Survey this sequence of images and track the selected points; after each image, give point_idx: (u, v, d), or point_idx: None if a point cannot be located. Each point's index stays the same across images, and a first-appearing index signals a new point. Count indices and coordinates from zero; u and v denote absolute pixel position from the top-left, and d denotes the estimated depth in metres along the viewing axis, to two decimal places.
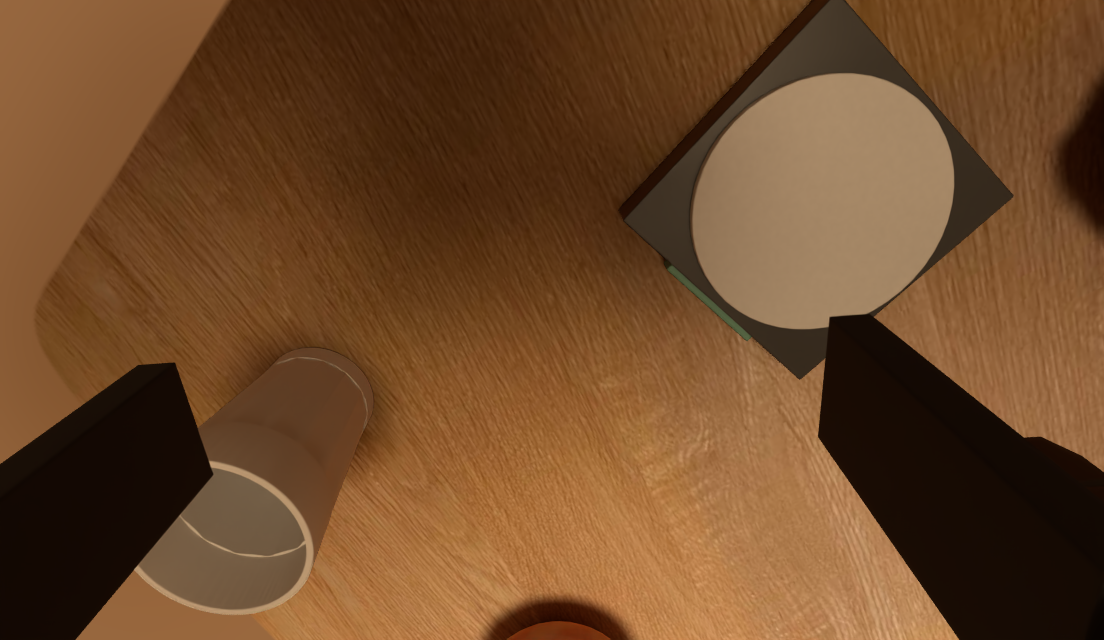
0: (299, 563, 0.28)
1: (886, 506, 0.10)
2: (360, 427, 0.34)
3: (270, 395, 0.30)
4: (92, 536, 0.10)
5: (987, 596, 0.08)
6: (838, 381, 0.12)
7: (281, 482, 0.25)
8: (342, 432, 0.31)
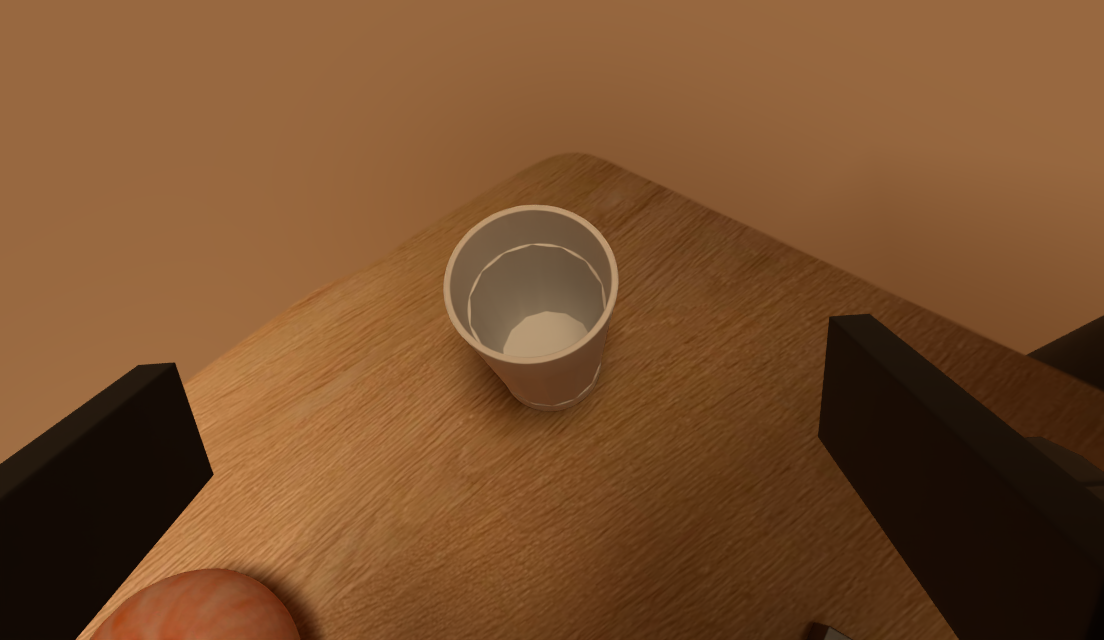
0: None
1: (886, 507, 0.10)
2: (552, 400, 0.35)
3: None
4: (92, 536, 0.10)
5: (987, 596, 0.08)
6: (837, 381, 0.12)
7: (600, 331, 0.28)
8: (574, 383, 0.33)
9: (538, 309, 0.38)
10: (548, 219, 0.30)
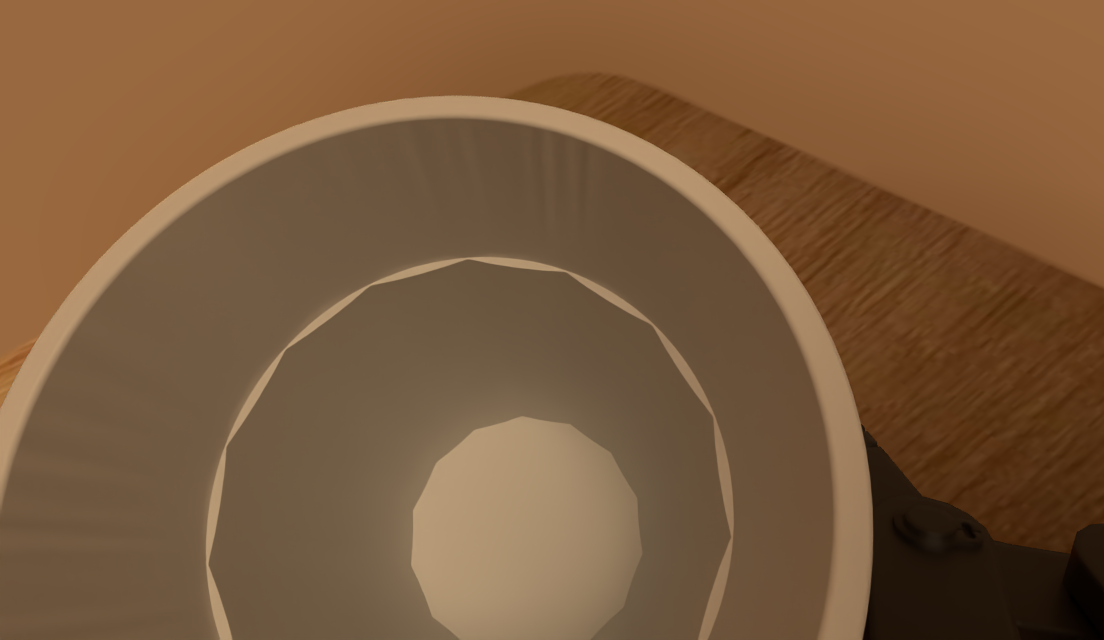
0: None
1: None
2: None
3: None
4: None
5: None
6: None
7: None
8: None
9: (502, 415, 0.16)
10: (518, 164, 0.07)
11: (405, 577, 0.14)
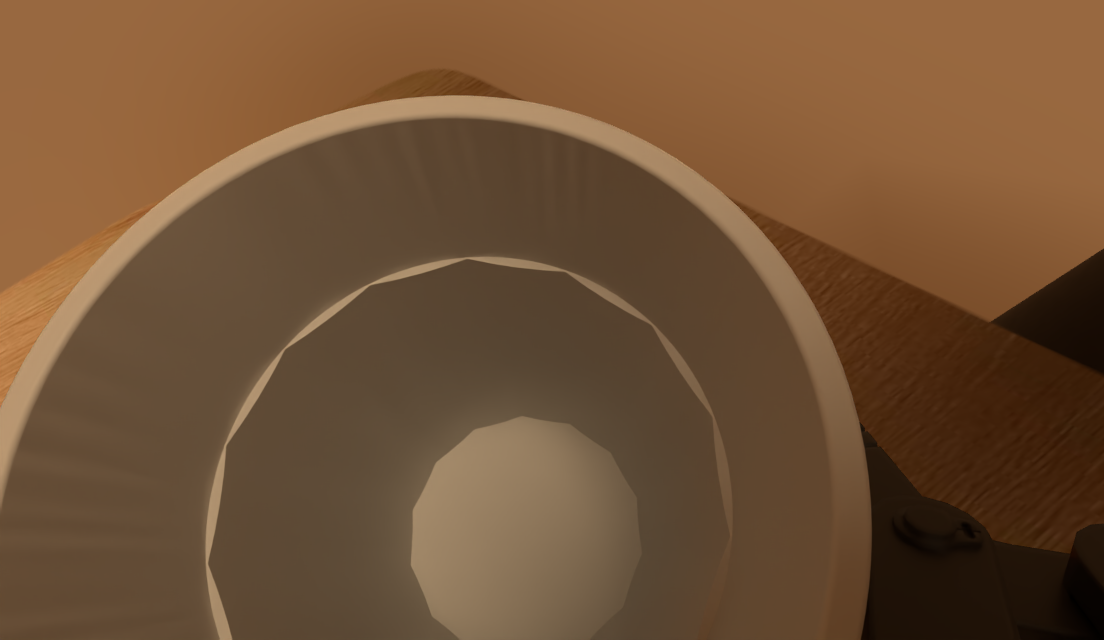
0: None
1: None
2: None
3: None
4: None
5: None
6: None
7: None
8: None
9: (502, 415, 0.16)
10: (518, 164, 0.07)
11: (405, 577, 0.14)
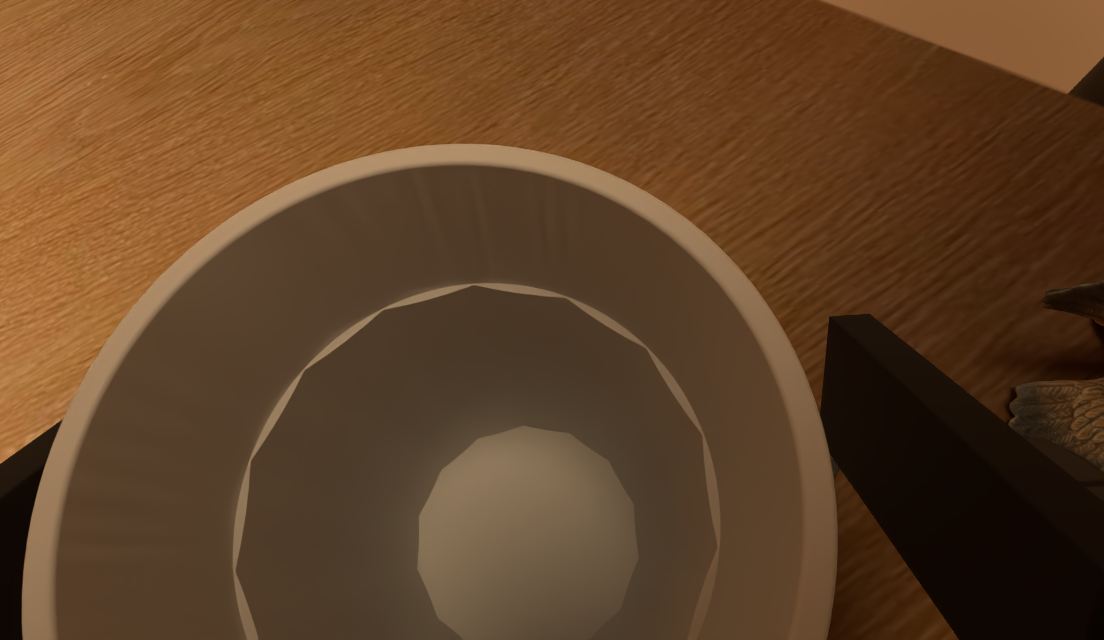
0: None
1: (886, 506, 0.10)
2: None
3: None
4: None
5: (987, 596, 0.08)
6: (838, 381, 0.12)
7: None
8: None
9: (504, 424, 0.16)
10: (522, 204, 0.08)
11: (412, 580, 0.15)
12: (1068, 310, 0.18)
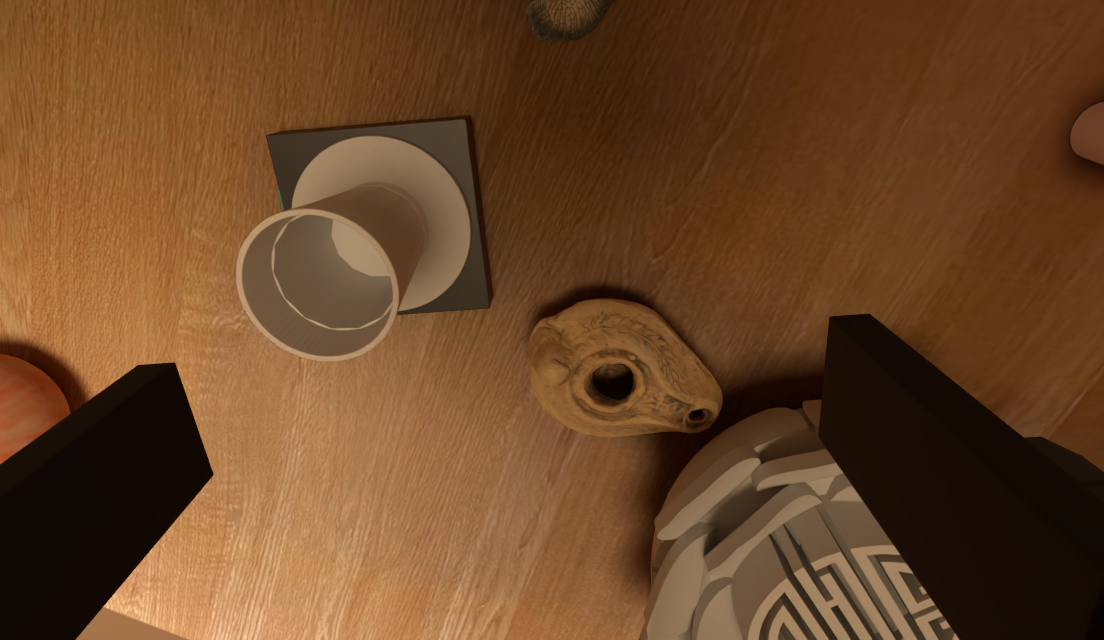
0: (337, 341, 0.33)
1: (886, 506, 0.10)
2: None
3: (394, 215, 0.35)
4: (92, 536, 0.10)
5: (986, 596, 0.08)
6: (837, 381, 0.12)
7: (400, 289, 0.31)
8: None
9: None
10: (284, 218, 0.30)
11: (353, 274, 0.41)
12: None
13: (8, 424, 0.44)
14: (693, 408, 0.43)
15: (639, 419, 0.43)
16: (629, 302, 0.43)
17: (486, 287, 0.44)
